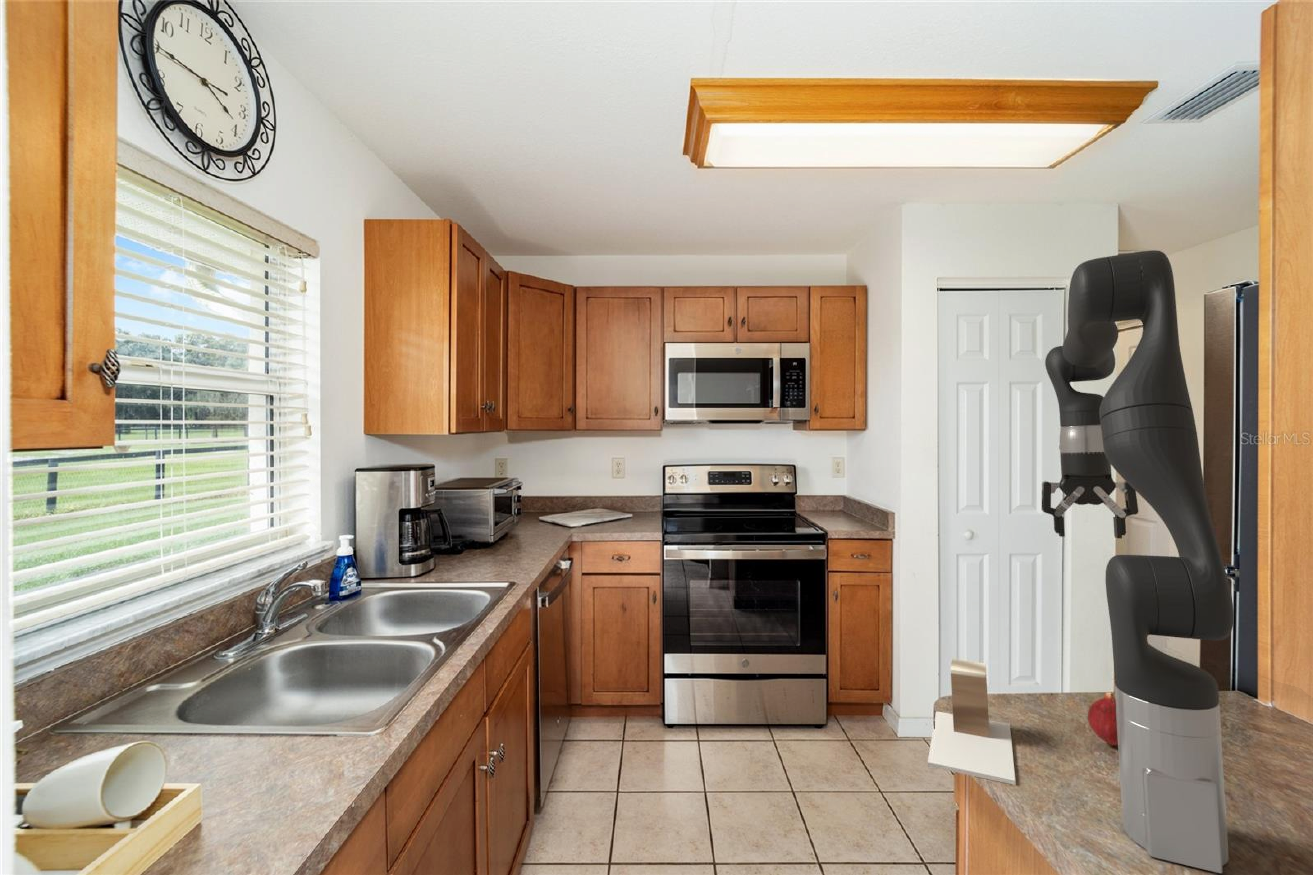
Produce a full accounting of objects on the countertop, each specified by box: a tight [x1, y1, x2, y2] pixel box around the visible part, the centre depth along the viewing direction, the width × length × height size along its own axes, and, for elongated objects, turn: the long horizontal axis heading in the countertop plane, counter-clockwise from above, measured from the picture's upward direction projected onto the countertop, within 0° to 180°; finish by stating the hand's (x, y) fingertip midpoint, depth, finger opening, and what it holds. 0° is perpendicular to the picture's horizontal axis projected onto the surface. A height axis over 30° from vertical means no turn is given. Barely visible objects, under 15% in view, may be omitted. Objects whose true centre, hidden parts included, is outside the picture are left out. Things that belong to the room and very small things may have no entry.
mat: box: [927, 711, 1016, 786], centre depth 90 cm, size 18×11×1 cm, turn 150°
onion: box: [1087, 691, 1118, 747], centre depth 88 cm, size 6×6×8 cm
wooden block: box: [950, 658, 990, 738], centre depth 94 cm, size 5×5×10 cm
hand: (1089, 537), depth 107 cm, fingers open, 8 cm apart
